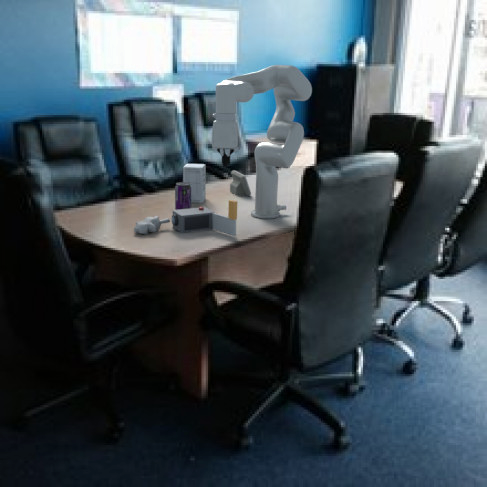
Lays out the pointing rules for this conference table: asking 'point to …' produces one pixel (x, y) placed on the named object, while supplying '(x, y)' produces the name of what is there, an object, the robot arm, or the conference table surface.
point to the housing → (192, 219)
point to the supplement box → (196, 181)
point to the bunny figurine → (149, 225)
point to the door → (226, 220)
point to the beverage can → (182, 196)
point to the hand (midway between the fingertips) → (226, 165)
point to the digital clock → (239, 184)
